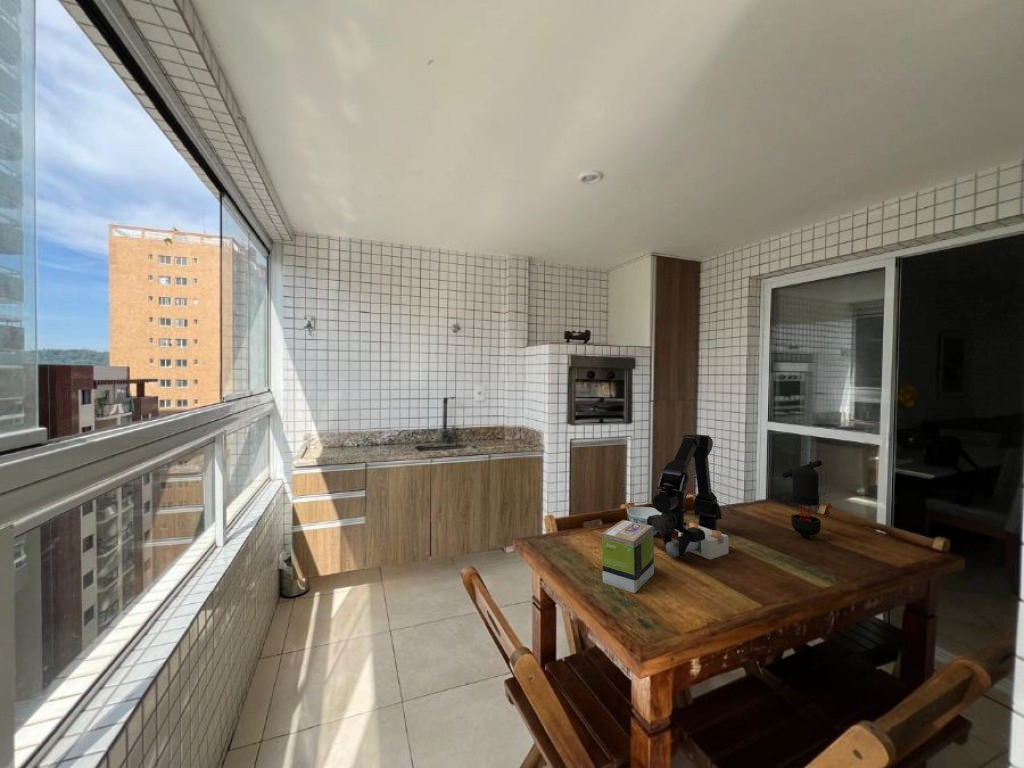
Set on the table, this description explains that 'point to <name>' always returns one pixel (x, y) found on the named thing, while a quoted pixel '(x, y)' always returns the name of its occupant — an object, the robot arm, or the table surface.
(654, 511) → the chinaware
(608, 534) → the tea box
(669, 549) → the cartridge
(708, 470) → the robot arm
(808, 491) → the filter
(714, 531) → the plunger
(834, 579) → the table surface
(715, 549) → the housing
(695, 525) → the plunger
